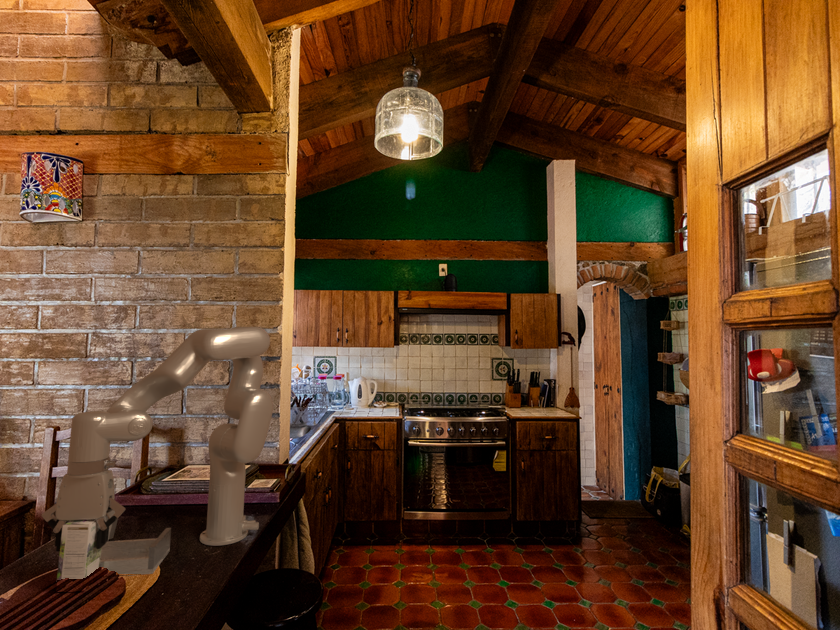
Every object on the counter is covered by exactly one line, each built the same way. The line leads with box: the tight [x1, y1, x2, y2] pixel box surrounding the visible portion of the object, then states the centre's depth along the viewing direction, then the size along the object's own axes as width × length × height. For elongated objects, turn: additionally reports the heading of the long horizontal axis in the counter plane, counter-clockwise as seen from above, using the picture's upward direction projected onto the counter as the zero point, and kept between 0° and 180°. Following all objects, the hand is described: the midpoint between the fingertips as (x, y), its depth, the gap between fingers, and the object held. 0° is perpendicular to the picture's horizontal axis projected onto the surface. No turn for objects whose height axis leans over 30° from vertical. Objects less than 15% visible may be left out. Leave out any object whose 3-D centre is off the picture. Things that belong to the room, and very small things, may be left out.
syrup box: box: [56, 519, 102, 581], centre depth 98 cm, size 6×6×14 cm
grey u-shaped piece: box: [100, 527, 172, 575], centre depth 108 cm, size 18×12×6 cm, turn 103°
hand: (81, 547), depth 99 cm, fingers open, 7 cm apart
